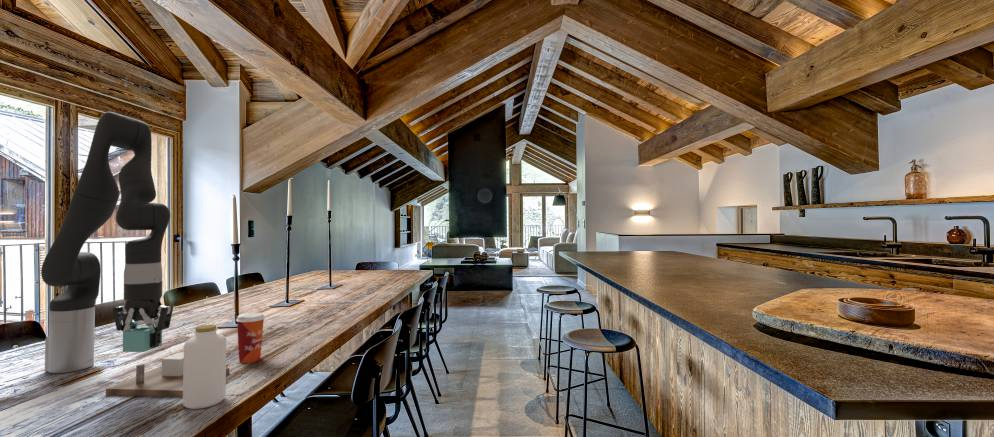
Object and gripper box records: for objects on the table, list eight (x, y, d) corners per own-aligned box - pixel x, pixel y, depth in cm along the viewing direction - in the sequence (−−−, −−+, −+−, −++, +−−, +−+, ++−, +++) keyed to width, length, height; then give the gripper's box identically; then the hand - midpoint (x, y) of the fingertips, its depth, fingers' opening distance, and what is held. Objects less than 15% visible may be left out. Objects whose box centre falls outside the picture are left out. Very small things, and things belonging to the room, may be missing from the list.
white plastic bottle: (197, 395, 102) (198, 322, 102) (232, 395, 103) (234, 322, 103) (173, 411, 94) (175, 331, 94) (212, 410, 95) (214, 331, 95)
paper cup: (250, 365, 124) (251, 318, 124) (228, 363, 126) (229, 316, 126) (270, 357, 132) (270, 312, 132) (249, 355, 133) (250, 311, 133)
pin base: (105, 394, 102) (106, 370, 102) (160, 371, 118) (160, 350, 118) (185, 396, 102) (185, 372, 102) (229, 373, 118) (229, 351, 118)
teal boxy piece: (122, 351, 104) (122, 331, 104) (141, 345, 109) (141, 326, 109) (144, 351, 104) (144, 331, 104) (161, 345, 109) (162, 326, 109)
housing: (161, 375, 111) (161, 358, 111) (177, 368, 116) (178, 352, 116) (179, 376, 111) (180, 359, 111) (195, 369, 116) (195, 353, 116)
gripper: (101, 282, 103) (101, 351, 103) (158, 282, 103) (158, 351, 103) (129, 278, 110) (128, 342, 110) (182, 278, 110) (182, 342, 110)
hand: (143, 346), depth 106 cm, fingers closed on teal boxy piece, 5 cm apart
